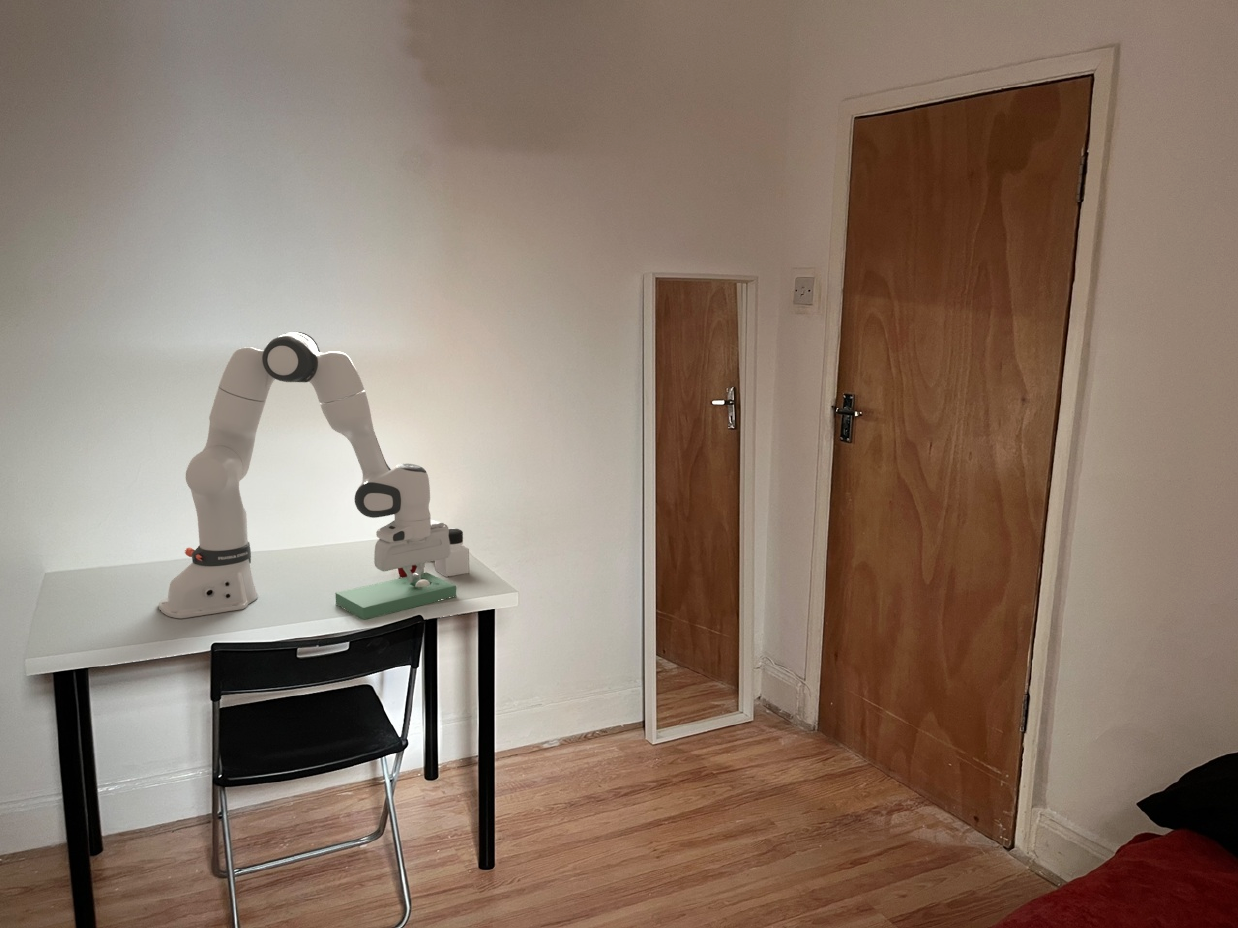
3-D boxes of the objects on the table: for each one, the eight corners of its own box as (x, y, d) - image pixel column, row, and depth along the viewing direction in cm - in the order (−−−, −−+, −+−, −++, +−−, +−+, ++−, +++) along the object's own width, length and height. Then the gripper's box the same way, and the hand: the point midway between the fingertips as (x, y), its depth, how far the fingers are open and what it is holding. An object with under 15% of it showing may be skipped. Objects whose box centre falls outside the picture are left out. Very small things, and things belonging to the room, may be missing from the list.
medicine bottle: (469, 573, 266) (469, 531, 264) (445, 577, 262) (444, 534, 260) (458, 566, 272) (458, 525, 270) (434, 570, 268) (434, 528, 266)
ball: (418, 585, 244) (431, 578, 247) (410, 582, 247) (423, 574, 250) (422, 599, 246) (435, 592, 248) (414, 595, 249) (427, 588, 251)
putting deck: (363, 619, 230) (361, 558, 227) (332, 602, 241) (330, 544, 238) (456, 596, 247) (455, 540, 244) (423, 581, 258) (422, 527, 255)
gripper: (441, 519, 252) (442, 569, 255) (370, 532, 238) (372, 585, 241) (454, 523, 248) (455, 575, 250) (383, 537, 234) (384, 592, 237)
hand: (414, 580), depth 246 cm, fingers closed
